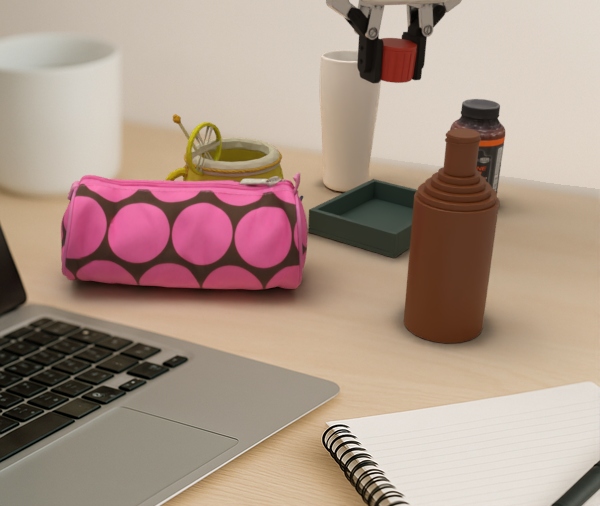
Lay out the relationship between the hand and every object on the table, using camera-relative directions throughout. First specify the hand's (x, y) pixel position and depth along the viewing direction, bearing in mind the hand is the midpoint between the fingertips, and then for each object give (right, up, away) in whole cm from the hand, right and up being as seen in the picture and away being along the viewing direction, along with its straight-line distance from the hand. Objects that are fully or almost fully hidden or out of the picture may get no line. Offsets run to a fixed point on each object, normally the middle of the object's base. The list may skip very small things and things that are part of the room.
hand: (390, 76), depth 79 cm
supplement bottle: (+10, -11, +14) cm, 20 cm away
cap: (0, 0, 0) cm, 1 cm away
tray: (0, -14, +7) cm, 15 cm away
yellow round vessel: (-16, -14, +7) cm, 23 cm away
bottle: (+3, -23, -11) cm, 26 cm away
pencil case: (-19, -20, -5) cm, 28 cm away
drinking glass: (-3, -8, +18) cm, 20 cm away
